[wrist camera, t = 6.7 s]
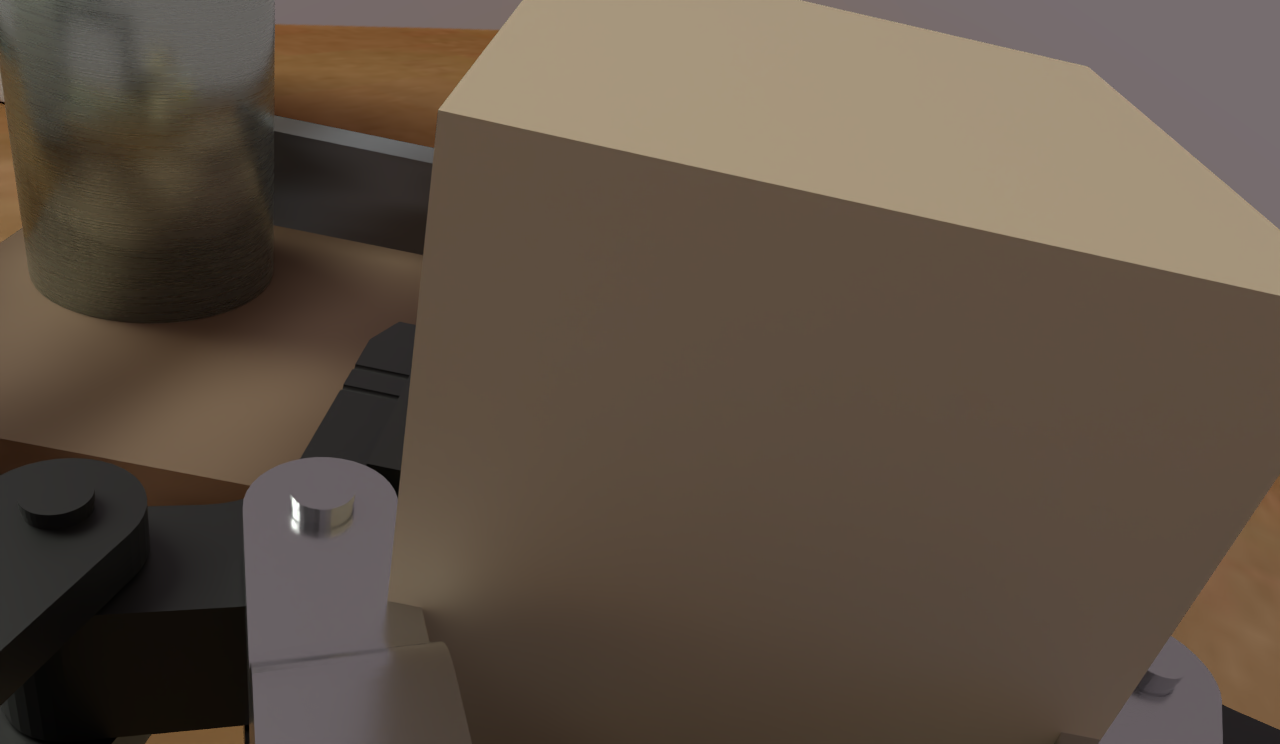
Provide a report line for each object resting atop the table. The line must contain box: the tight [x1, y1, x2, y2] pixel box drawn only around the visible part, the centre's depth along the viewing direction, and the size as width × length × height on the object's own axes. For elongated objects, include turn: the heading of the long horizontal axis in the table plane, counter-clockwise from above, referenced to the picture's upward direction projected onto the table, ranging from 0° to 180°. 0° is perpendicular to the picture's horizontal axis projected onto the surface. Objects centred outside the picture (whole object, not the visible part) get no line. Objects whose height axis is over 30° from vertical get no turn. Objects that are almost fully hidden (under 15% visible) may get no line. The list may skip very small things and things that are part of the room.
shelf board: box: [0, 115, 434, 506], centre depth 27 cm, size 24×13×4 cm, turn 86°
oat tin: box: [0, 0, 275, 324], centre depth 25 cm, size 6×6×10 cm
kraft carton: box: [387, 0, 1280, 744], centre depth 11 cm, size 6×6×12 cm
